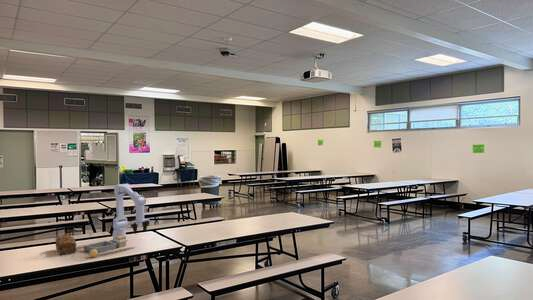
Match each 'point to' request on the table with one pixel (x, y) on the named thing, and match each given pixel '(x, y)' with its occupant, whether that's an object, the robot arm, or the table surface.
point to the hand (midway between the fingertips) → (140, 232)
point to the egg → (93, 253)
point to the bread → (65, 245)
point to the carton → (121, 241)
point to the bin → (101, 246)
